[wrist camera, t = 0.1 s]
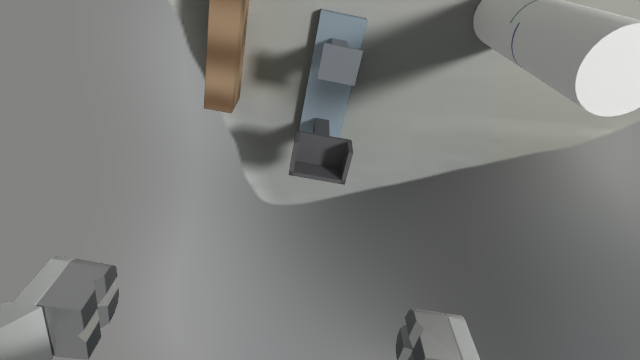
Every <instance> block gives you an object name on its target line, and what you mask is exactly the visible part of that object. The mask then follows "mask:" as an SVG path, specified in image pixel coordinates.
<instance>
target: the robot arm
mask: <svg viewBox="0 0 640 360" xmlns="http://www.w3.org/2000/svg"><path fill="white" fill-rule="evenodd" d="M116 277H117V269H116V266H114V265H109V264H103V263H97V262H91V261H85V260H80V259H71V258H66V257H60V256H55V257H53V258H51V259H50V260H49V261H48V262H47V263H46V264H45V265H44V266H43V268H42V269H41V270H40V271H39V272H38V273H37V274H36V276H35V277H34V278H33V279H32V280H31V282H30V283H29V284H28V285H27V286H26V287H25V289H23V291H22V292H21V293H20V294H19V295H18V296H17V298H16V299H15V300H14V301H13V302H5V303H3V304H0V360H51V359H53V356H57V357H68V358H77V359H89V358H90V356H91V354H92V353H93V351H94V349H95V347H96V345H97V344H98V342H99V340H100V338H101V331H100V328H102V327H103V326H105V325H107V324H108V323H109V322H110V320H111V319H112V317H113V315H114V313H115V310H116V306H117V304H118V297H119V289H118V287H117V286H116V285H115V284H114V280H115V279H116ZM405 320H406V325H404V326H403V327H401V328H400V330H399V332H398V335H397V340H396V357H397V360H480V359H479V356H478V354H477V351H476V348H475V345H474V343H473V340H472V337H471V335H470V332H469V330H468V327H467V324H466V322H465V319H464V318H463V317H462V316H460V315H453V314H446V313H445V314H443V313H438V312H432V311H424V310H417V309H410V310H409V311H408V312H407V314H406V316H405Z"/></svg>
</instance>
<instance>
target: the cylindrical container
mask: <svg viewBox="0 0 640 360" xmlns="http://www.w3.org/2000/svg"><path fill="white" fill-rule="evenodd" d="M473 27H474V31H475V34H476V35H477V37H478V38H479V39H480V40H481V41H482V42H483V43H485V44H486V45H488V46H489V47H491V48H492V49H494V50H495V51H497V52H498V53H500V54H502V55H503V56H505V57H506V58H508V59H509V60H511V61H512V62H514V63H515V64H517V65H518V66H520V67H521V68H523V69H524V70H526V71H527V72H529V73H531V74H532V75H534V76H535V77H537V78H538V79H540V80H541V81H543V82H544V83H546V84H547V85H549V86H550V87H552V88H553V89H555V90H557V91H558V92H560V93H561V94H563V95H564V96H566V97H567V98H569V99H570V100H572V101H573V102H575V103H576V104H578V105H579V106H581V107H582V108H584V109H586V110H587V111H589V112H591V113H593V114H595V115H599V116H608V117H609V116H618V115H622V114H626V113H628V112H631V111H633V110H635V109H637V108H639V107H640V20H637V19H633V18H630V17H626V16H622V15H618V14H614V13H610V12H606V11H603V10H599V9H595V8H591V7H587V6H583V5H579V4H576V3H572V2H568V1H564V0H482V1H481V2H480V3H479V5H478V7H477V9H476V11H475V14H474V18H473Z"/></svg>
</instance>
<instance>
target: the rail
mask: <svg viewBox="0 0 640 360" xmlns="http://www.w3.org/2000/svg"><path fill="white" fill-rule="evenodd" d="M248 6H249V0H209V18H208V38H207V58H206V77H205V98H204V108H205V109H211V110H216V111H221V112H227V113H232V112H233V110H234V108H235V106H236V104H237V102H238V100H239V98H240V88H241V77H242V67H243V57H244V47H245V36H246V26H247V16H248Z"/></svg>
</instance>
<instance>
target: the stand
mask: <svg viewBox="0 0 640 360" xmlns="http://www.w3.org/2000/svg"><path fill="white" fill-rule="evenodd" d="M366 24H367V19H366V18H362V17H357V16H352V15H348V14H343V13H338V12H333V11H329V10H324V9H321V13H320V18H319V23H318V29H317V34H316V40H315V45H314V51H313V56H312V62H311V67H310V73H309V78H308V83H307V89H306V94H305V100H304V105H303V111H302V116H301V122H300V127H299V130H296V135H295V141H294V146H293V152H292V157H291V163H290V170H289V175H292V176H298V177H304V178H309V179H315V180H321V181H327V182H332V183H338V184H344V185H345V181H346V177H347V174H348V170H349V166H350V162H351V159H352V155H353V148H352V141H351V140H348V139H343V138H339V136H340V132H341V128H342V124H343V120H344V115H345V111H346V107H347V103H348V99H349V95H350V91H351V86H355V83H356V78H357V74H358V70H359V66H360V62H361V58H362V54H363V50H360V49H361V45H362V41H363V37H364V32H365V28H366Z"/></svg>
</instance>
